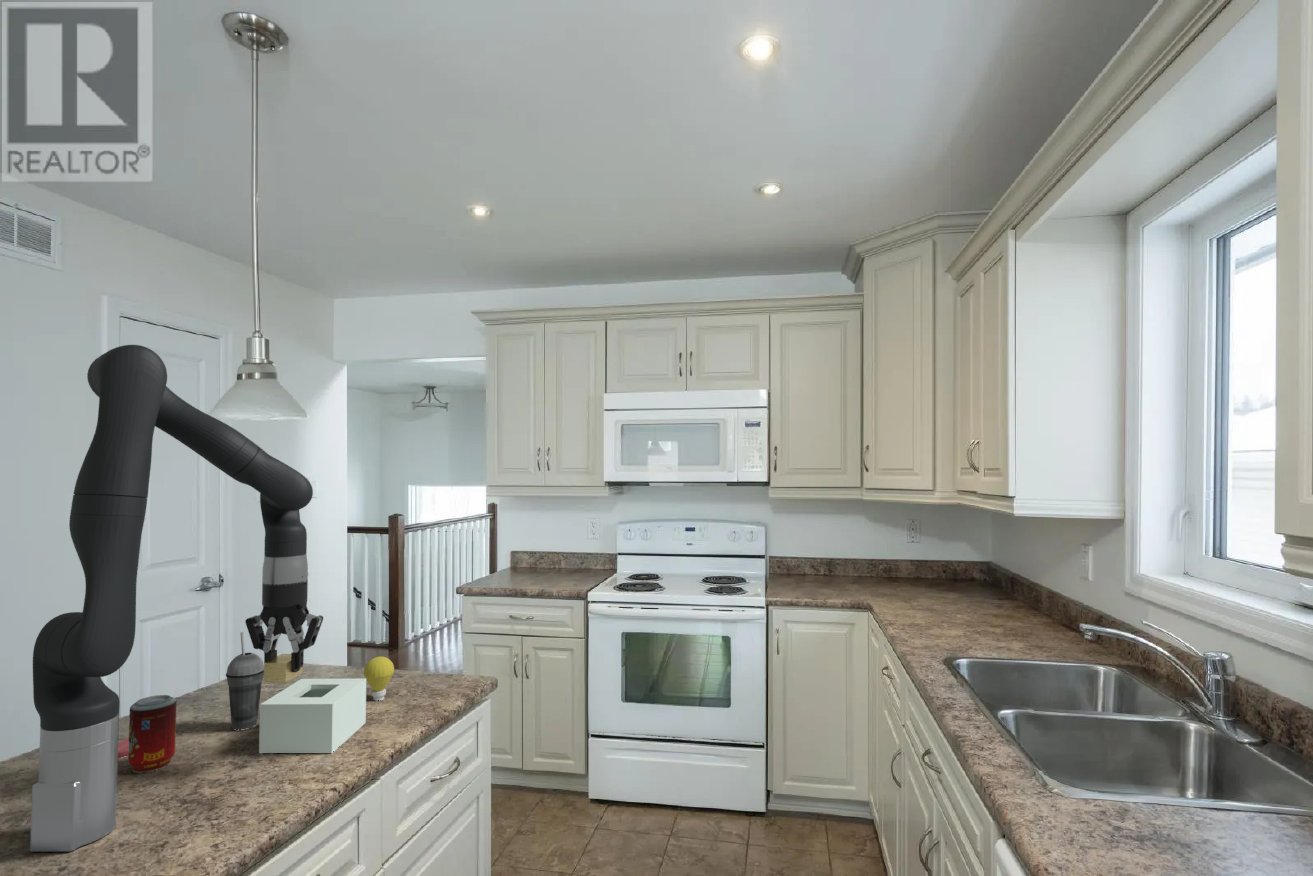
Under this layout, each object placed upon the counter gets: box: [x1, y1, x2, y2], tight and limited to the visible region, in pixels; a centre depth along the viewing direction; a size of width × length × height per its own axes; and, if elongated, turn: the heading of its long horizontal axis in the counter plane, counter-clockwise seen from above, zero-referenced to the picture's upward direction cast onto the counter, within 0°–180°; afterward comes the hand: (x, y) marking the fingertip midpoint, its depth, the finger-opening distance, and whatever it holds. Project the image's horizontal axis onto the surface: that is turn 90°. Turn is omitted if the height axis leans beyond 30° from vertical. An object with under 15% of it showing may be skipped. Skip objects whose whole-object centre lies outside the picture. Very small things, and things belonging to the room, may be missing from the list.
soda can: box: [127, 694, 178, 774], centre depth 127 cm, size 7×7×12 cm
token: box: [263, 653, 304, 683], centre depth 128 cm, size 6×4×4 cm, turn 0°
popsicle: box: [118, 736, 129, 759], centre depth 138 cm, size 5×2×15 cm
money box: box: [258, 677, 367, 754], centre depth 141 cm, size 16×14×10 cm
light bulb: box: [363, 656, 395, 702], centre depth 164 cm, size 7×7×10 cm
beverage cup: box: [225, 631, 264, 730], centre depth 147 cm, size 7×7×20 cm
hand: (284, 670), depth 128 cm, fingers closed on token, 4 cm apart
